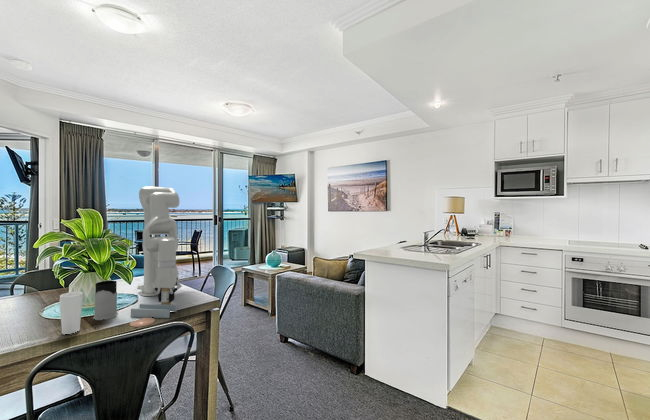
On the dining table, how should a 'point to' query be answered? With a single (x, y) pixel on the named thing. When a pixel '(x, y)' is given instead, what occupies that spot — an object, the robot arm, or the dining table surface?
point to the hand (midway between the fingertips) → (166, 300)
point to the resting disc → (142, 322)
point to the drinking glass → (71, 311)
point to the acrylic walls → (153, 310)
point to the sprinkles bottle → (165, 296)
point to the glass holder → (105, 300)
